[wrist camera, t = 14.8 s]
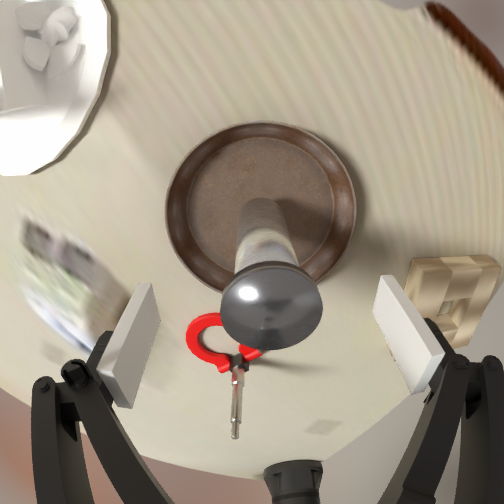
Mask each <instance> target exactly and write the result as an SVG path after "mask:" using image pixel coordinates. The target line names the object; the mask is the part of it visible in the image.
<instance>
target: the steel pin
mask: <svg viewBox="0 0 504 504" xmlns="http://www.w3.org/2000/svg"><path fill="white" fill-rule="evenodd" d="M322 311H323V305H322V300H321V297H320V294H319V291H318V288H317V285H316V283H315V281H314V280H313V278H312V277H311V276H310V275H309V274H308V273H307V272H306V271H305V270H303V269H302V268H300V267H299V264H298V260H297V257H296V254H295V250H294V247H293V244H292V241H291V237H290V234H289V231H288V228H287V224H286V221H285V218H284V215H283V212H282V209H281V208H280V206H279V205H278V204H277V203H276V202H275V201H273V200H271V199H268V198H263V197H260V198H254V199H251V200H249V201H248V202H246V203H245V204H244V205H243V207H242V208H241V210H240V212H239V216H238V230H237V245H236V260H235V275H234V276H233V277H232V278H231V279H230V280H229V281H228V283H227V284H226V286H225V288H224V291H223V294H222V300H221V309H220V317H221V322H222V324H223V327H224V329H225V330H226V332H227V333H228V334H229V335H230V336H231V337H232V338H233V339H234V340H236V341H237V342H239V343H240V344H242V345H245V346H247V347H250V348H253V349H258V350H278V349H283V348H287V347H290V346H293V345H295V344H297V343H299V342H301V341H303V340H304V339H305V338H307V337H308V336H309V335H310V334H311V333H312V332H313V331H314V330H315V329H316V327H317V326H318V324H319V322H320V319H321V316H322Z"/></svg>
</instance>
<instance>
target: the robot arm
mask: <svg viewBox="0 0 504 504" xmlns="http://www.w3.org/2000/svg"><path fill="white" fill-rule="evenodd" d="M372 314H373V316H374V318H375V320H376V321H377V323H378V325H379V327H380V329H381V331H382V333H383V335H384V337H385V339H386V341H387V343H388V345H389V348H390V350H391V352H392V354H393V356H394V358H395V360H396V362H397V364H398V366H399V369H400V371H401V373H402V375H403V377H404V379H405V382H406V384H407V386H408V388H409V391H410V393H411V394H416V393H420V392H424V391H425V389H426V387H427V386H428V384H429V386H430V388H431V391H430V393H429V394H428V396H427V398H426V399H425V400H424V403H425V402H426V403H425V406H424V408H423V411H422V414H421V416H420V419H419V421H418V424H417V426H416V429H415V431H414V433H413V436H412V438H411V440H410V442H409V445H408V447H407V449H406V451H405V453H404V455H403V457H402V460H401V462H400V464H399V466H398V468H397V470H396V471H395V473H394V475H393V477H392V479H391V481H390V483H389V484H388V486H387V488H386V490H385V492H384V493H383V495H382V497H381V498H380V500H379V502H378V504H435V502H436V499H435V497H434V494H435V491H436V489H437V486H438V484H439V482H440V479H441V477H442V474H443V471H444V469H445V466H446V463H447V461H448V458H449V455H450V451H451V449H452V445H453V442H454V439H455V436H456V432H457V429H458V425H459V422H460V418H461V446H460V460H459V461H460V462H459V472H458V480H457V488H456V495H455V501H454V504H504V370H503V366H502V363H501V361H500V360H499V359H498V358H496V357H495V356H492V355H488V356H486V357H484V359H483V361H482V362H481V363H475V362H470V361H469V360H468V359H467V358H466V357H465V356H463V355H461V354H456V353H455V352H454V350H453V349H452V347H451V345H450V344H449V342H448V341H447V339H446V338H445V336H443V333H442V332H441V331H440V329H439V328H438V326H437V325H436V323H435V322H433V321H432V320H431V319H430V318H422V316H421V315H420V313H419V312H418V310H417V309H416V308H415V306H414V305H413V303H412V302H411V300H410V299H409V298H408V296H407V295H406V293H405V292H404V291H403V289H402V288H401V286H400V285H399V284H398V282H397V281H396V280H395V278H394V277H393V275H381V276H380V281H379V285H378V290H377V294H376V299H375V303H374V307H373V311H372ZM160 321H161V320H160V316H159V312H158V308H157V304H156V300H155V296H154V292H153V288H152V284H151V283H139V284H138V286H137V288H136V290H135V292H134V293H133V295H132V297H131V299H130V301H129V303H128V305H127V307H126V309H125V311H124V313H123V315H122V317H121V318H120V320H119V322H118V324H117V326H116V328H115V330H114V331H105V332H104V333H103V334H102V335H101V336H100V337H99V339H98V341H97V343H96V346H95V347H94V349H93V352H92V353H91V355H90V357H89V359H88V361H87V363H85V362H84V361H83V360H81V359H73V360H70V361H68V362H67V363H65V365H64V366H63V367H62V369H61V376H62V377H63V379H64V380H65V382H61V383H55V381H54V380H53V379H52V378H51V377H49V376H43V377H41V378H39V379H38V380H36V382H35V383H34V385H33V388H32V409H31V410H32V411H31V439H32V461H33V473H34V483H35V490H36V497H37V504H95V503H94V500H93V496H92V492H91V488H90V484H89V479H88V474H87V469H86V464H85V459H84V453H83V448H82V441H81V434H80V427H79V421H82V423H83V425H84V428H85V430H86V432H87V435H88V437H89V439H90V441H91V444H92V445H93V448H94V450H95V452H96V454H97V456H98V458H99V460H100V462H101V464H102V466H103V468H104V470H105V472H106V473H107V475H108V477H109V479H110V481H111V482H112V484H113V486H114V488H115V489H116V491H117V493H118V494H119V496H120V498H121V499H122V501H123V502H124V504H175V503H174V502H173V501H172V499H171V498H170V497H169V496H168V494H167V493H166V492H165V490H164V489H163V488H162V486H161V485H160V484H159V482H158V481H157V479H156V478H155V477H154V475H153V474H152V473H151V471H150V469H149V468H148V467H147V465H146V464H145V462H144V461H143V459H142V458H141V456H140V454H139V453H138V451H137V450H136V448H135V446H134V445H133V443H132V442H131V440H130V438H129V437H128V435H127V433H126V432H125V430H124V428H123V426H122V425H121V423H120V421H119V419H118V417H117V416H116V414H115V412H114V410H113V408H112V407H111V406H112V403H113V400H114V401H115V403H116V405H117V406H118V407H123V408H129V409H132V408H133V404H134V401H135V398H136V394H137V391H138V388H139V385H140V381H141V378H142V375H143V372H144V369H145V366H146V362H147V359H148V356H149V353H150V350H151V347H152V344H153V341H154V338H155V335H156V333H157V330H158V327H159V324H160ZM322 474H323V469H322V464H321V463H320V462H317V461H311V460H298V461H289V462H283V463H279V464H275V465H272V466H270V467H268V468H266V469H265V470H264V480H265V482H266V484H267V487H268V489H269V491H270V493H271V496H272V504H320V498H319V487H320V483H321V479H322Z"/></svg>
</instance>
